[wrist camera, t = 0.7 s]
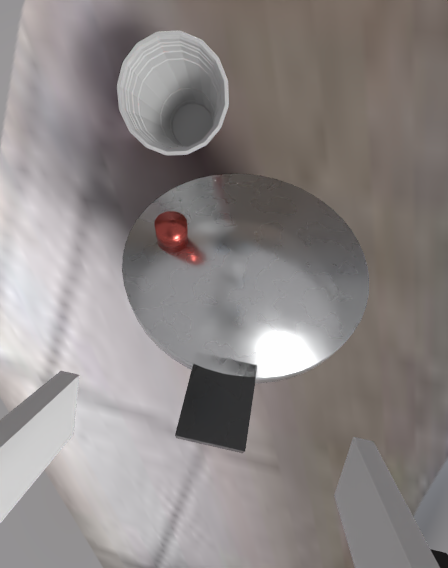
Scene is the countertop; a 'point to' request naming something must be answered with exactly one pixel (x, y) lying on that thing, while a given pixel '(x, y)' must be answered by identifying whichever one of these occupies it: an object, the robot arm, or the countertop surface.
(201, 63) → the plastic cup
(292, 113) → the countertop surface
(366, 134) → the countertop surface
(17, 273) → the countertop surface
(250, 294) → the cooker lid
